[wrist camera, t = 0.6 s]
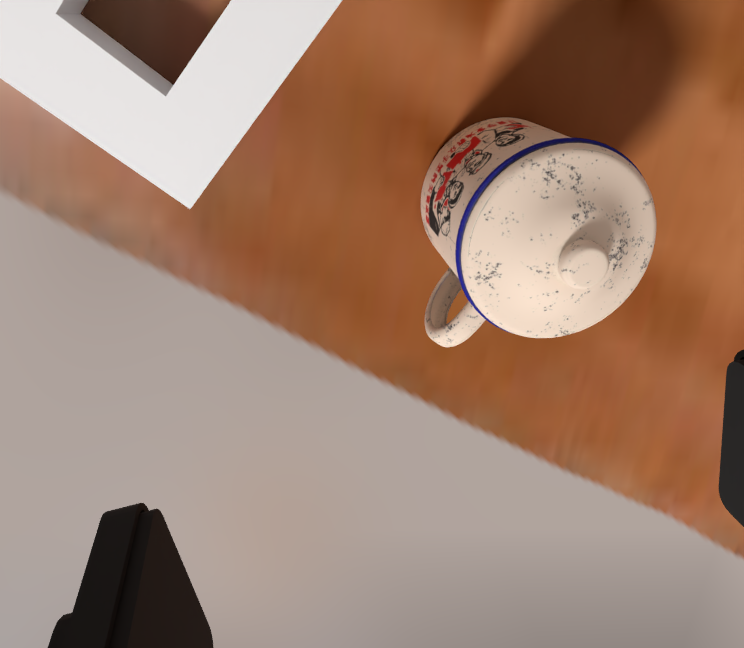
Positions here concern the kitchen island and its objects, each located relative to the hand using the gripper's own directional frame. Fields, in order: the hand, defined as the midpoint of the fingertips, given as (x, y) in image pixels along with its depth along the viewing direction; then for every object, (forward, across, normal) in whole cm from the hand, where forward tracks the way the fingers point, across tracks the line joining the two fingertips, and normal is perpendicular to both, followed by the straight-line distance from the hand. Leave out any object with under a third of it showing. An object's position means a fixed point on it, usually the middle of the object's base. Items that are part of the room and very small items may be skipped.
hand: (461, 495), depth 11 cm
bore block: (+26, +5, -9) cm, 28 cm away
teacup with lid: (+26, -8, +4) cm, 28 cm away
